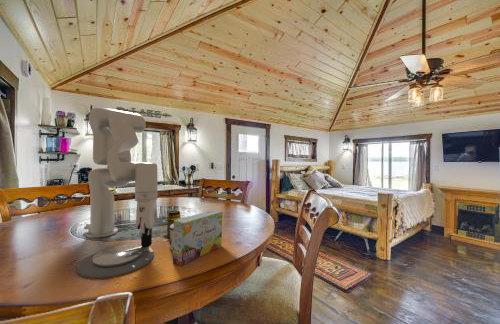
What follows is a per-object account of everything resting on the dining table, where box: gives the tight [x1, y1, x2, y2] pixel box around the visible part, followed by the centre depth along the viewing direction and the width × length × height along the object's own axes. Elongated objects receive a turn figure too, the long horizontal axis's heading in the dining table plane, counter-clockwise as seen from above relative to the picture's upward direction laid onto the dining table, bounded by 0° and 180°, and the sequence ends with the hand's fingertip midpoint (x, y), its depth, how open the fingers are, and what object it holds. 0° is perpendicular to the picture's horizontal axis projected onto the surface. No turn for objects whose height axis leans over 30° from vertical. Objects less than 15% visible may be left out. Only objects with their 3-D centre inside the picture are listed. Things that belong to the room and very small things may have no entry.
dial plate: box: [76, 244, 155, 279], centre depth 77 cm, size 23×23×1 cm
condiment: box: [160, 210, 182, 242], centre depth 101 cm, size 7×8×12 cm
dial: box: [93, 244, 150, 268], centre depth 78 cm, size 18×15×6 cm
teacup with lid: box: [169, 224, 174, 251], centre depth 89 cm, size 12×9×12 cm
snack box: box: [172, 209, 223, 266], centre depth 84 cm, size 21×6×15 cm, turn 148°
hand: (146, 245), depth 80 cm, fingers closed
